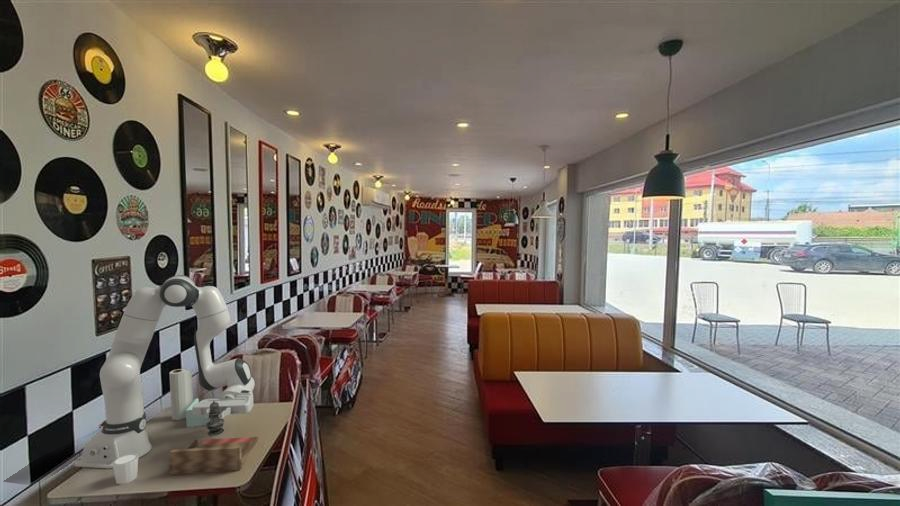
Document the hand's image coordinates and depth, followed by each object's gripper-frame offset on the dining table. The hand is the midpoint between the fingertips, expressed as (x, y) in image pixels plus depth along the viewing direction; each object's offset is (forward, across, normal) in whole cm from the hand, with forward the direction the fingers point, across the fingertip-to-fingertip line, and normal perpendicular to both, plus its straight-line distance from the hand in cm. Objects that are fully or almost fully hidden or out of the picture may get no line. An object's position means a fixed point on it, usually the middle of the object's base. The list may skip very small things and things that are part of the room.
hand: (213, 416), depth 146 cm
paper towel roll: (-36, -31, +17) cm, 50 cm away
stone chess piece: (-1, 0, +6) cm, 7 cm away
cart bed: (-3, 0, +17) cm, 17 cm away
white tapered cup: (+8, -25, +17) cm, 31 cm away
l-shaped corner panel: (-33, -19, +17) cm, 42 cm away
